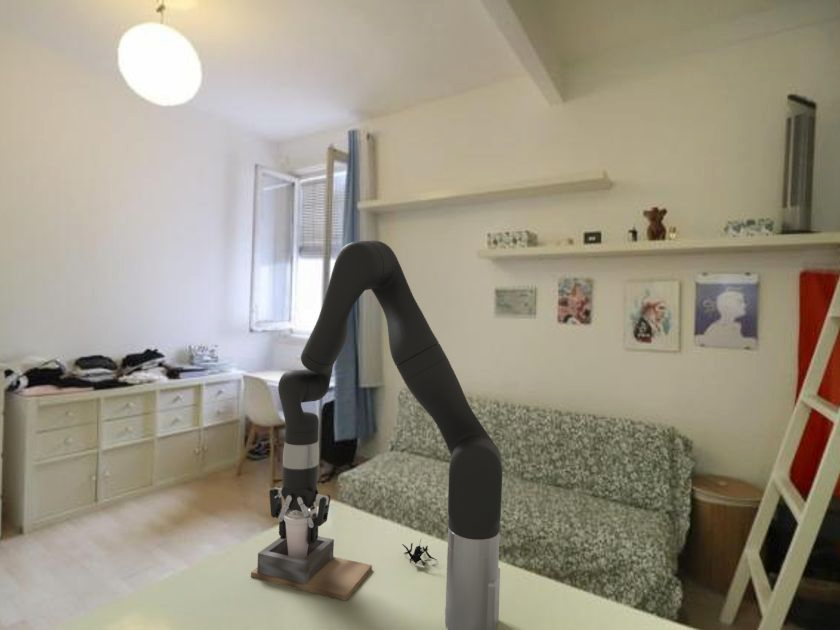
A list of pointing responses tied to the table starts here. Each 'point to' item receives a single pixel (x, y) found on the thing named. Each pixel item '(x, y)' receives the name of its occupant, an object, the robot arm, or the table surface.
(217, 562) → the table surface
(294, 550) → the smoothie
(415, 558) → the creature
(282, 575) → the board
